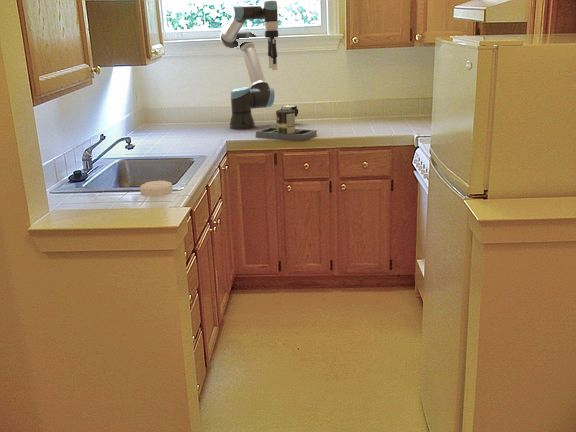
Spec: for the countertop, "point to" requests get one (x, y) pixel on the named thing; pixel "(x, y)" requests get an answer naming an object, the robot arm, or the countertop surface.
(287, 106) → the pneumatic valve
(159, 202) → the countertop surface
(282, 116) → the coffee can
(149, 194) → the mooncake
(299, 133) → the gray compartment tray
